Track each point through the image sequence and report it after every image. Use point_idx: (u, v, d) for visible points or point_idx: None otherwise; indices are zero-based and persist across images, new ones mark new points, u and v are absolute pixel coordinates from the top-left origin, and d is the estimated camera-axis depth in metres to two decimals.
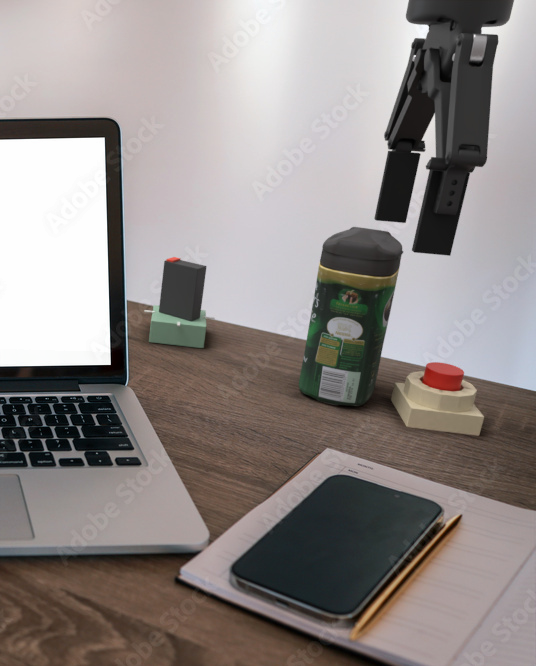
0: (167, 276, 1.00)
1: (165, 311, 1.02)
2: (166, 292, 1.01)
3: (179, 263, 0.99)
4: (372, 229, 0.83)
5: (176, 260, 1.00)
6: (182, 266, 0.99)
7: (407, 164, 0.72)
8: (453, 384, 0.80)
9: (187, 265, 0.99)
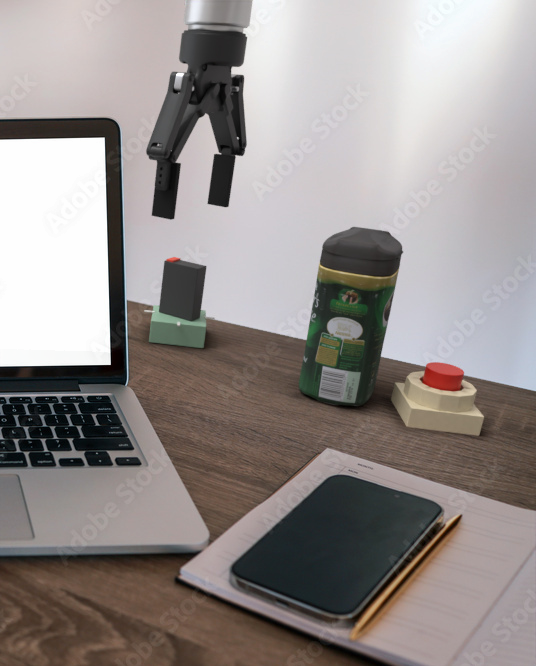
0: (167, 276, 1.00)
1: (165, 311, 1.02)
2: (166, 292, 1.01)
3: (179, 263, 0.99)
4: (372, 229, 0.83)
5: (176, 260, 1.00)
6: (182, 266, 0.99)
7: (225, 164, 1.00)
8: (453, 384, 0.80)
9: (187, 265, 0.99)
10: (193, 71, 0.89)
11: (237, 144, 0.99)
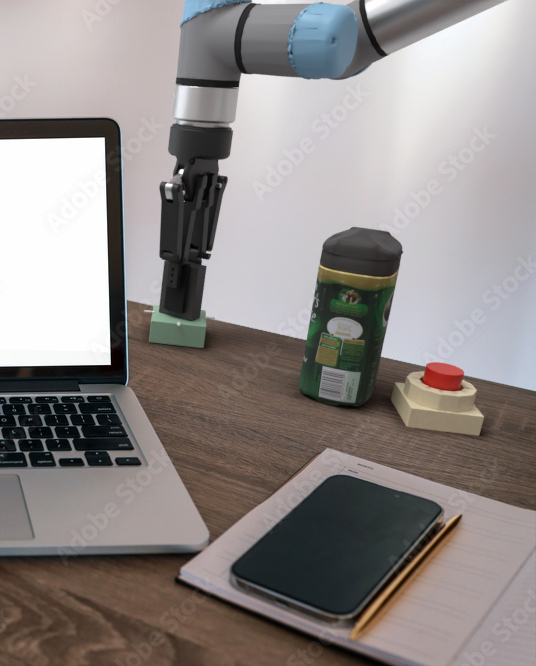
0: None
1: (165, 311, 1.02)
2: None
3: None
4: (372, 229, 0.83)
5: None
6: None
7: None
8: (453, 384, 0.80)
9: None
10: (182, 164, 0.93)
11: (205, 247, 1.00)
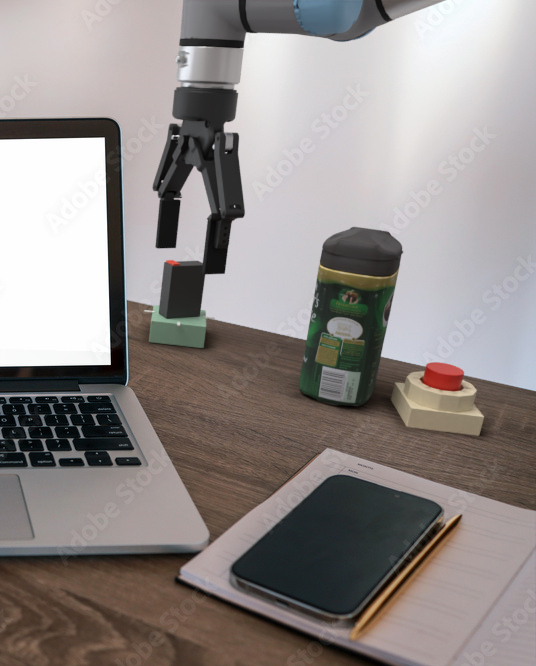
0: (175, 280, 0.99)
1: (173, 315, 1.00)
2: (174, 296, 0.99)
3: (184, 264, 0.99)
4: (372, 229, 0.83)
5: None
6: (191, 266, 0.99)
7: (173, 208, 1.03)
8: (453, 384, 0.80)
9: (193, 264, 0.99)
10: (216, 129, 0.90)
11: None
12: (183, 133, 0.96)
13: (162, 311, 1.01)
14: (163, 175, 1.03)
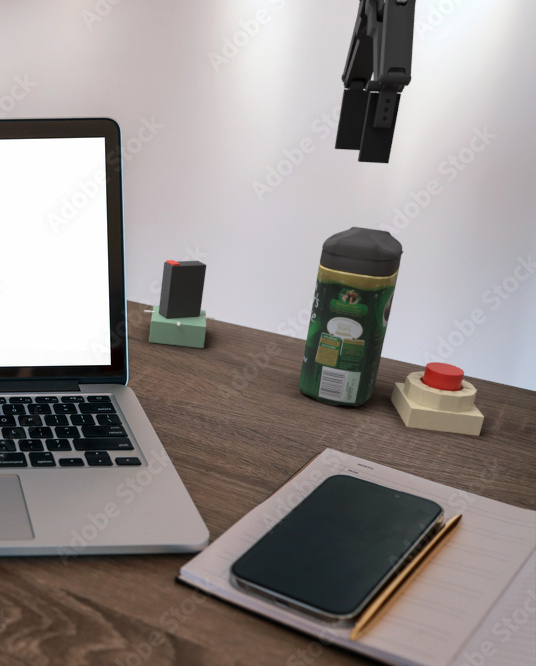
0: (175, 280, 0.99)
1: (173, 315, 1.00)
2: (174, 296, 0.99)
3: (184, 264, 0.99)
4: (372, 229, 0.83)
5: None
6: (191, 266, 0.99)
7: (360, 99, 0.86)
8: (453, 384, 0.80)
9: (193, 264, 0.99)
10: None
11: None
12: None
13: (162, 311, 1.01)
14: None
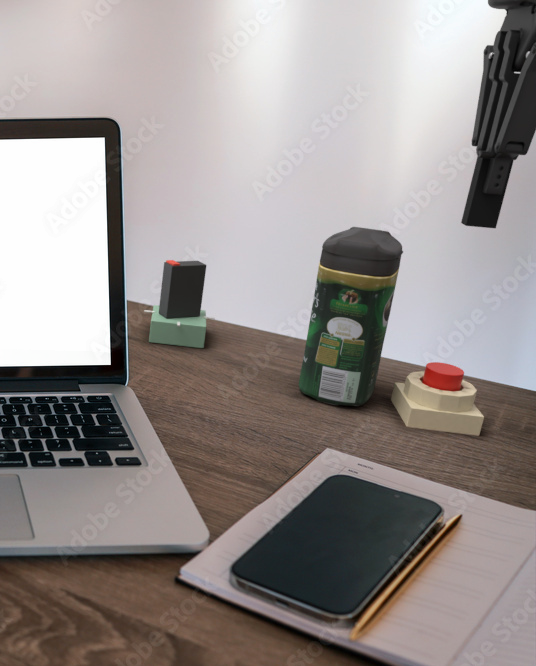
0: (175, 280, 0.99)
1: (173, 315, 1.00)
2: (174, 296, 0.99)
3: (184, 264, 0.99)
4: (372, 229, 0.83)
5: None
6: (191, 266, 0.99)
7: None
8: (453, 384, 0.80)
9: (193, 264, 0.99)
10: None
11: None
12: (504, 28, 0.72)
13: (162, 311, 1.01)
14: (485, 116, 0.75)
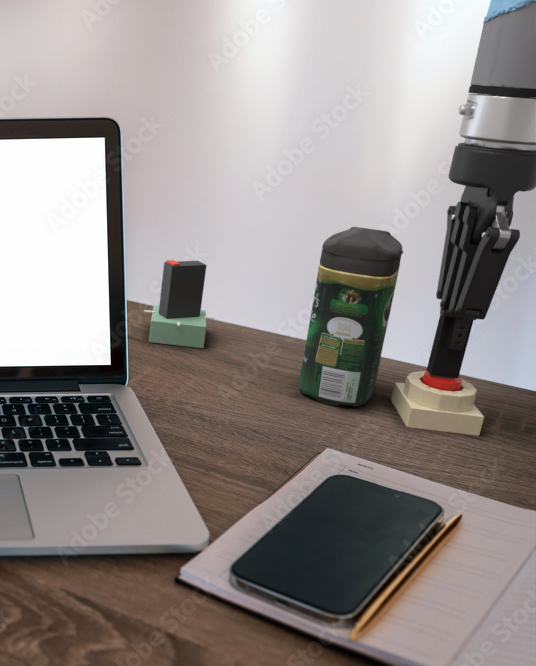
0: (175, 280, 0.99)
1: (173, 315, 1.00)
2: (174, 296, 0.99)
3: (184, 264, 0.99)
4: (372, 229, 0.83)
5: None
6: (191, 266, 0.99)
7: None
8: None
9: (193, 264, 0.99)
10: (502, 200, 0.71)
11: None
12: (464, 196, 0.78)
13: (162, 311, 1.01)
14: None
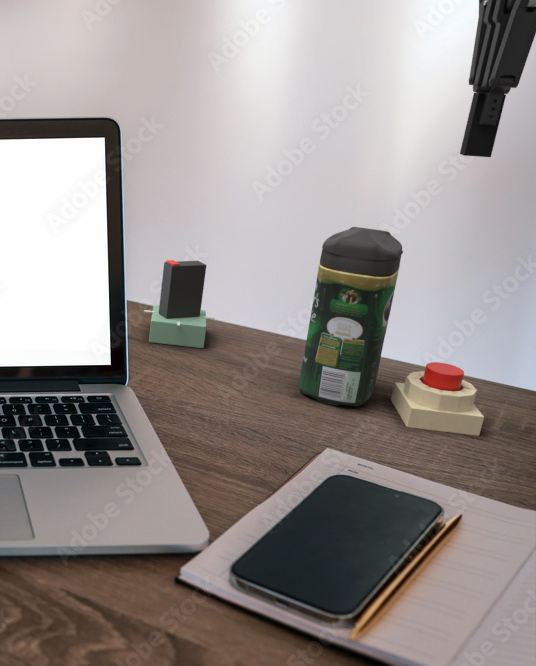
0: (175, 280, 0.99)
1: (173, 315, 1.00)
2: (174, 296, 0.99)
3: (184, 264, 0.99)
4: (372, 229, 0.83)
5: None
6: (191, 266, 0.99)
7: None
8: (453, 384, 0.80)
9: (193, 264, 0.99)
10: None
11: None
12: None
13: (162, 311, 1.01)
14: None
